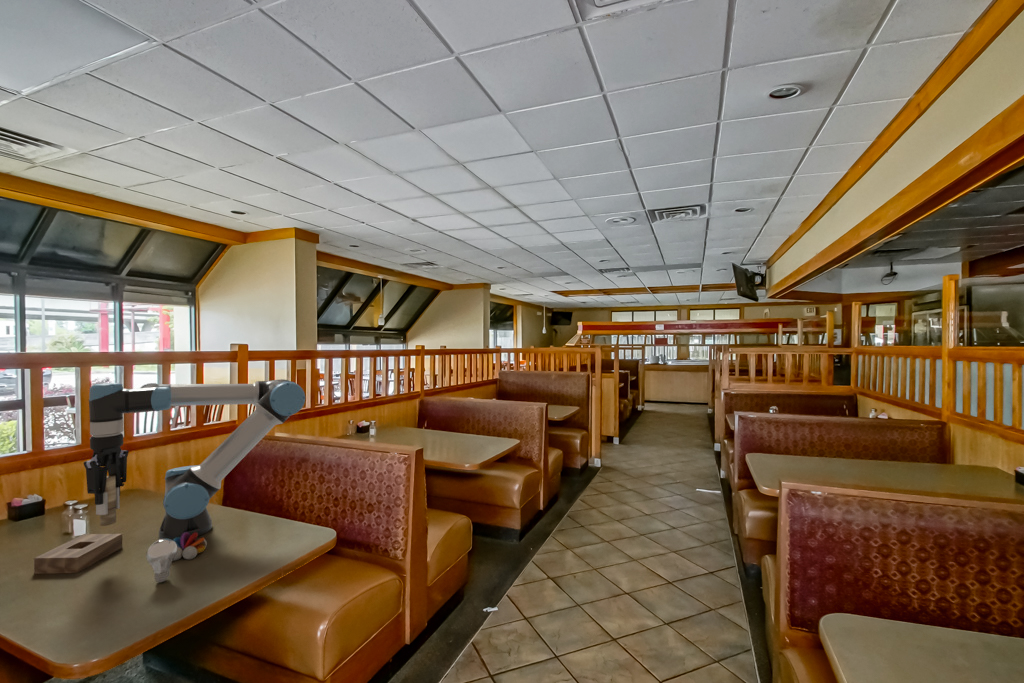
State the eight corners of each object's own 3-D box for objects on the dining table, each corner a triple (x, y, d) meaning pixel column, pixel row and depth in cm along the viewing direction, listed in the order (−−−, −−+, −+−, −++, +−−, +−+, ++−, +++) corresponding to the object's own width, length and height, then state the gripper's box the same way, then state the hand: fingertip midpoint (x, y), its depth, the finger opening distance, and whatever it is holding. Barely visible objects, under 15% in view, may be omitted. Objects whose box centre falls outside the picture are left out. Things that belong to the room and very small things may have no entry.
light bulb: (152, 591, 122) (152, 547, 122) (141, 584, 125) (141, 541, 125) (182, 580, 128) (182, 537, 127) (171, 573, 131) (171, 532, 131)
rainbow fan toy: (197, 561, 139) (197, 537, 139) (162, 563, 137) (162, 539, 137) (211, 548, 147) (211, 526, 147) (178, 550, 146) (178, 528, 145)
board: (122, 547, 147) (122, 533, 147) (77, 572, 131) (77, 557, 131) (83, 548, 146) (83, 534, 146) (34, 573, 130) (34, 558, 130)
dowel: (119, 520, 138) (118, 475, 138) (109, 525, 135) (108, 479, 134) (107, 520, 138) (106, 475, 138) (96, 526, 135) (95, 479, 134)
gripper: (116, 428, 144) (118, 501, 145) (67, 441, 128) (69, 523, 128) (141, 428, 145) (142, 501, 145) (95, 440, 128) (97, 522, 128)
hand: (108, 511), depth 136 cm, fingers closed on dowel, 4 cm apart
